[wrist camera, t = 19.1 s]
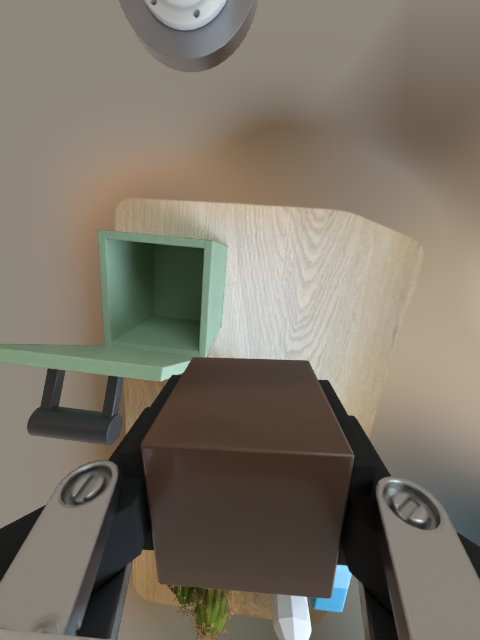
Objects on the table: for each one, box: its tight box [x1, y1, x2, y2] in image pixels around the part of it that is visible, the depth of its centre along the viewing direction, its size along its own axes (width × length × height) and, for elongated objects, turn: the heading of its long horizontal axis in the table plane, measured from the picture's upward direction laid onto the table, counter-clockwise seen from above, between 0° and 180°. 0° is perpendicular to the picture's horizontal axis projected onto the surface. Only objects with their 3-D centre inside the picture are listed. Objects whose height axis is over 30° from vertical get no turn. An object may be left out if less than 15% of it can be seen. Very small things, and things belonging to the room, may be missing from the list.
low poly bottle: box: [272, 594, 312, 640], centre depth 41 cm, size 6×6×22 cm
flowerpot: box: [168, 585, 236, 640], centre depth 39 cm, size 14×15×20 cm
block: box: [141, 357, 354, 599], centre depth 8 cm, size 4×4×4 cm
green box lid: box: [0, 344, 205, 445], centre depth 20 cm, size 13×12×5 cm
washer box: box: [98, 230, 228, 358], centre depth 32 cm, size 13×12×13 cm
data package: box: [310, 565, 352, 612], centre depth 42 cm, size 12×4×12 cm, turn 177°
